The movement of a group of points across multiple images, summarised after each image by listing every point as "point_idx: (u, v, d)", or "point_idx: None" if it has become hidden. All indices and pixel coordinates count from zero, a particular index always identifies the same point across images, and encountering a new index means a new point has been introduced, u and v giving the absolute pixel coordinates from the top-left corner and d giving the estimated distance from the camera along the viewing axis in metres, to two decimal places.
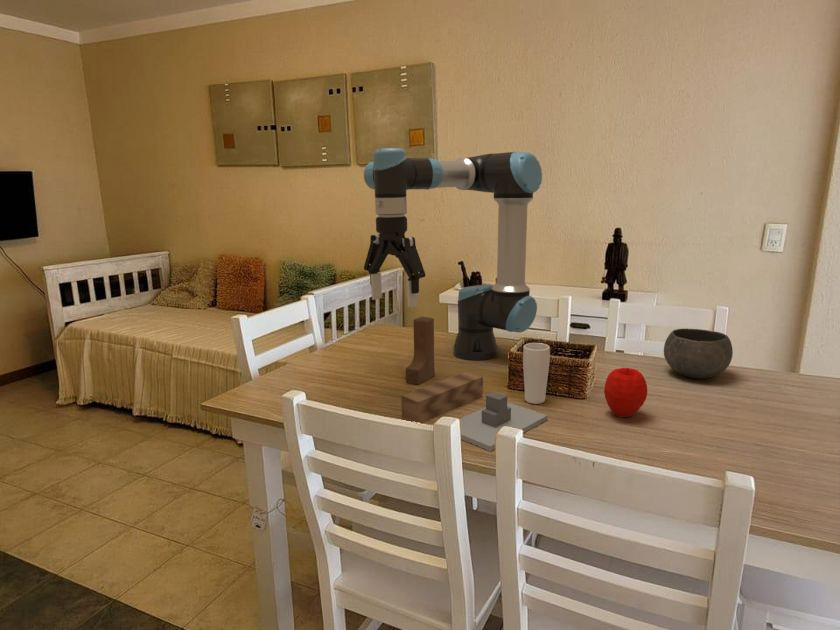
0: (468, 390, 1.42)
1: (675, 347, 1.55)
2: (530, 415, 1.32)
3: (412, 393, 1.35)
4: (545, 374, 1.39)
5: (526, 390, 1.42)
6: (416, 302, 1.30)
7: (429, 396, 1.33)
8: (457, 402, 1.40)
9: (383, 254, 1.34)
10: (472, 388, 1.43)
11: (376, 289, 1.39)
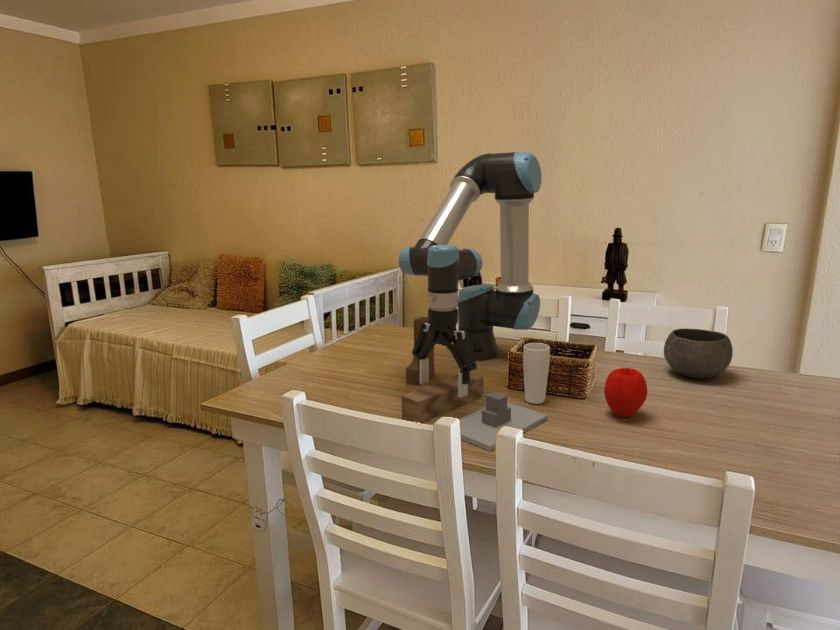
0: (468, 390, 1.42)
1: (675, 347, 1.55)
2: (530, 415, 1.32)
3: (412, 393, 1.35)
4: (545, 374, 1.39)
5: (526, 390, 1.42)
6: (466, 391, 1.35)
7: (429, 396, 1.33)
8: (457, 402, 1.40)
9: (433, 342, 1.39)
10: (472, 388, 1.43)
11: (424, 374, 1.43)
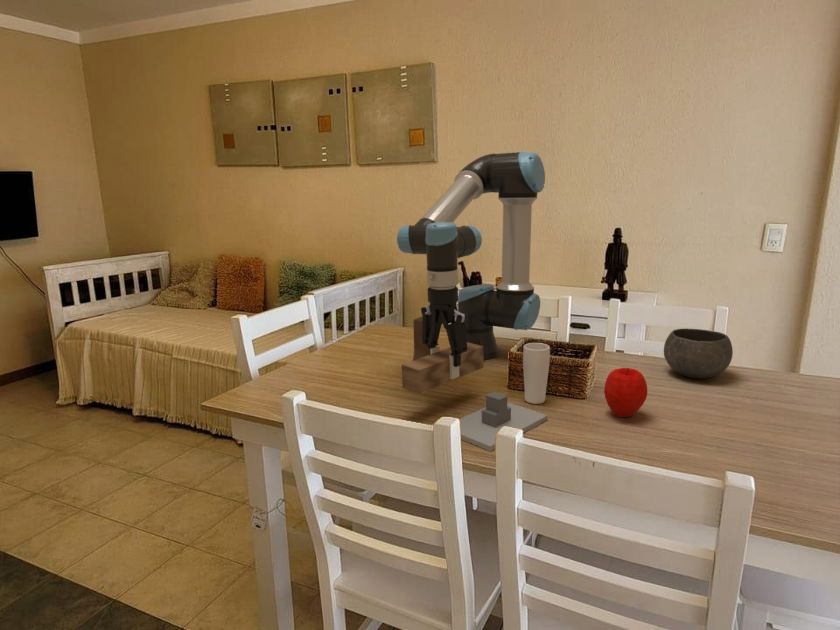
0: (469, 359, 1.41)
1: (675, 347, 1.55)
2: (530, 415, 1.32)
3: (412, 362, 1.33)
4: (545, 374, 1.39)
5: (526, 390, 1.42)
6: (458, 373, 1.37)
7: (430, 365, 1.31)
8: None
9: (437, 324, 1.37)
10: (473, 357, 1.42)
11: None
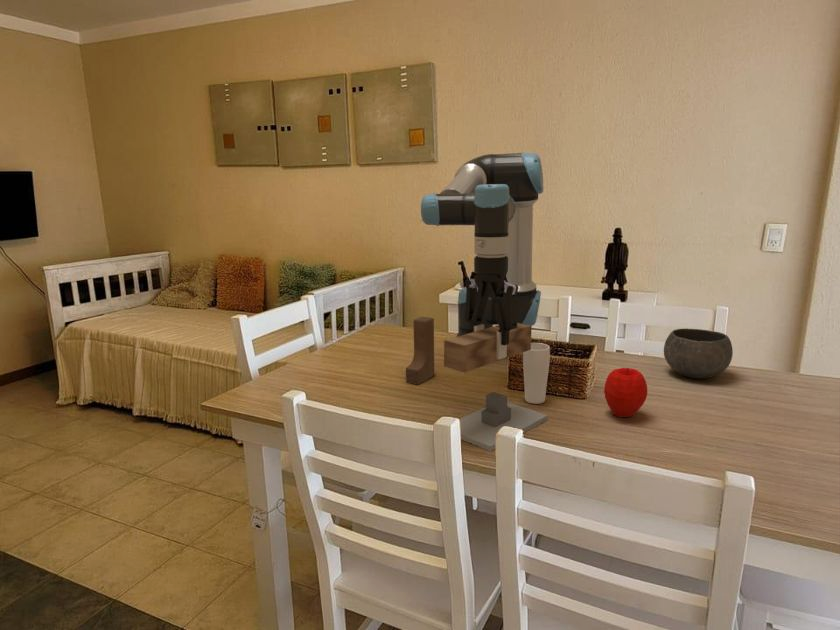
0: (516, 339, 1.27)
1: (675, 347, 1.55)
2: (530, 415, 1.32)
3: (456, 338, 1.20)
4: (545, 374, 1.39)
5: (526, 390, 1.42)
6: (505, 353, 1.24)
7: (476, 341, 1.18)
8: None
9: (483, 298, 1.24)
10: (520, 337, 1.28)
11: None
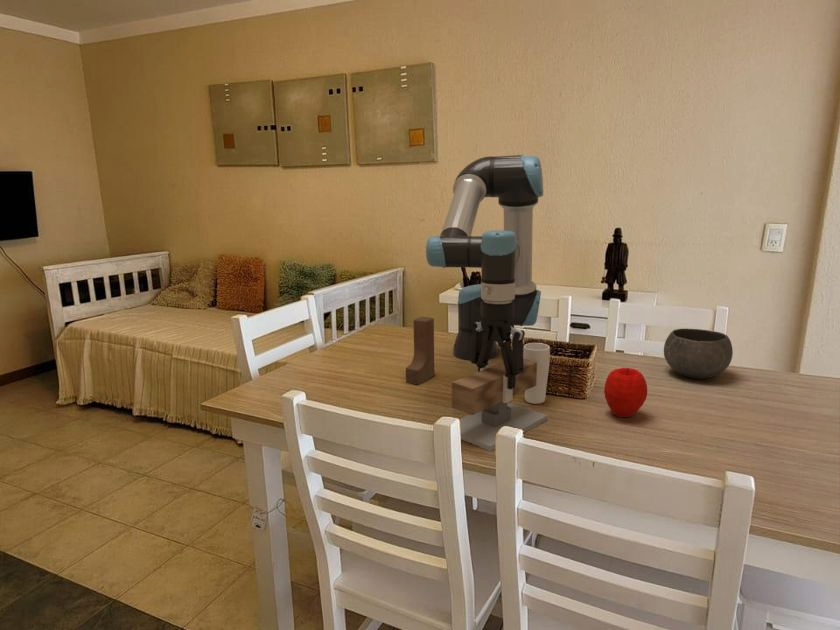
0: (522, 377, 1.28)
1: (675, 347, 1.55)
2: (530, 415, 1.32)
3: (463, 380, 1.21)
4: (545, 374, 1.39)
5: (526, 390, 1.42)
6: (511, 397, 1.25)
7: (483, 383, 1.19)
8: None
9: (489, 342, 1.25)
10: (526, 374, 1.29)
11: None
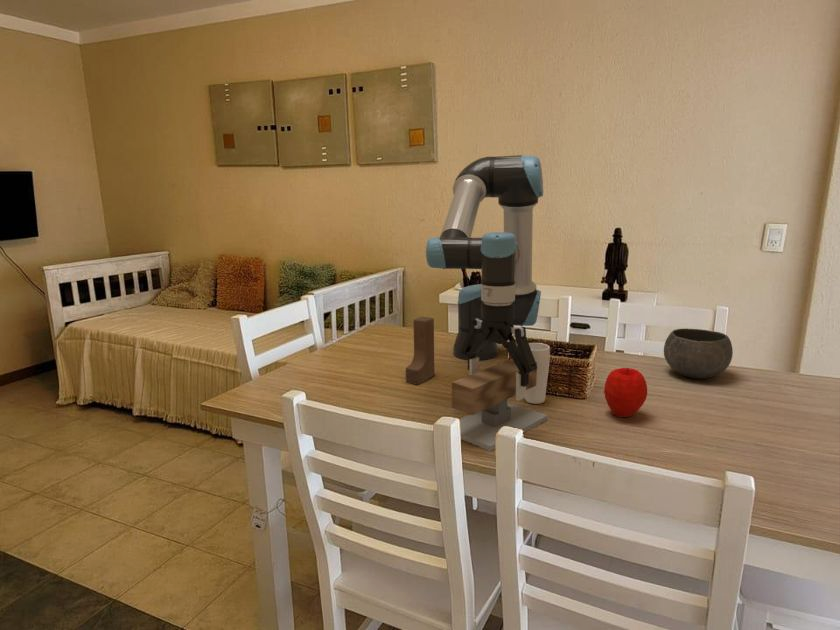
0: None
1: (675, 347, 1.55)
2: (530, 415, 1.32)
3: (463, 379, 1.21)
4: (545, 374, 1.39)
5: (526, 390, 1.42)
6: (524, 394, 1.23)
7: (483, 383, 1.19)
8: (511, 390, 1.26)
9: (485, 340, 1.26)
10: None
11: None
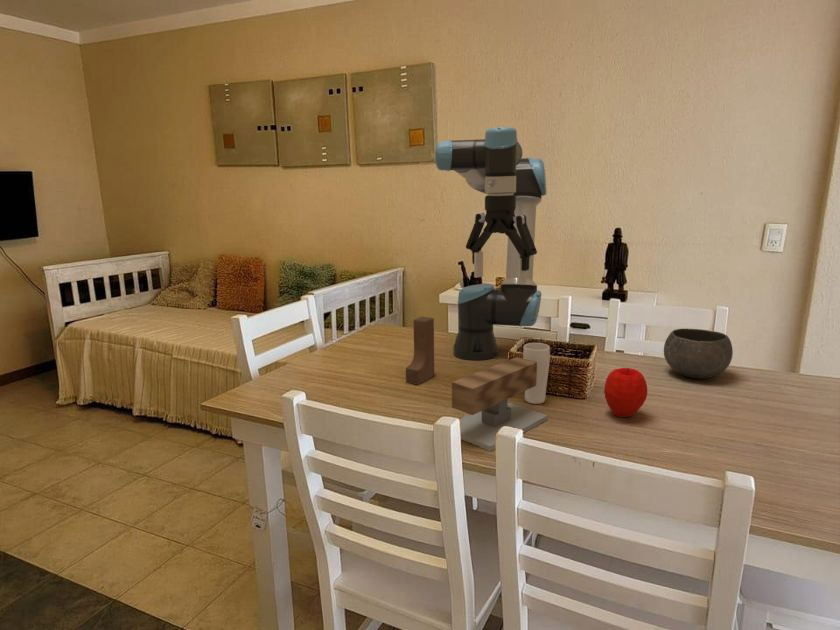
0: (522, 377, 1.28)
1: (675, 347, 1.55)
2: (530, 415, 1.32)
3: (463, 379, 1.21)
4: (545, 374, 1.39)
5: (526, 390, 1.42)
6: (525, 279, 1.33)
7: (483, 383, 1.19)
8: (511, 390, 1.26)
9: (489, 232, 1.37)
10: (526, 374, 1.29)
11: (478, 267, 1.41)
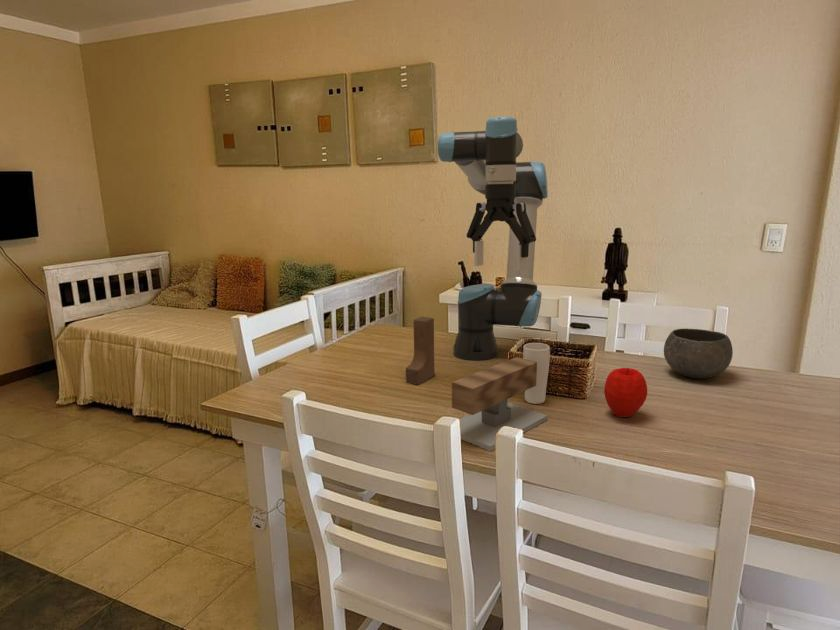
0: (522, 377, 1.28)
1: (675, 347, 1.55)
2: (530, 415, 1.32)
3: (463, 379, 1.21)
4: (545, 374, 1.39)
5: (526, 390, 1.42)
6: (524, 266, 1.36)
7: (483, 383, 1.19)
8: (511, 390, 1.26)
9: (489, 221, 1.39)
10: (526, 374, 1.29)
11: (479, 256, 1.44)
